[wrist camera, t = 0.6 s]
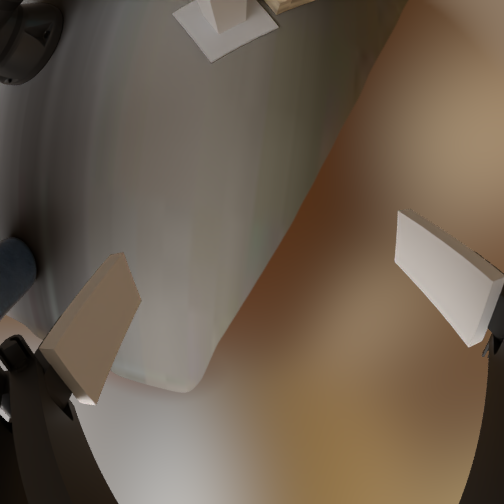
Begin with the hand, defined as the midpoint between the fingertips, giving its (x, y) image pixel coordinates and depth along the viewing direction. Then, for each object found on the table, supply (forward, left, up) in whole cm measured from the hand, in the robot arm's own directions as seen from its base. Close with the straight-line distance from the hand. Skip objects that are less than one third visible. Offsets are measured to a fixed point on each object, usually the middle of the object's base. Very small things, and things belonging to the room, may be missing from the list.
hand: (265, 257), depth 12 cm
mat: (-20, +9, -25) cm, 33 cm away
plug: (-20, +9, -24) cm, 33 cm away
